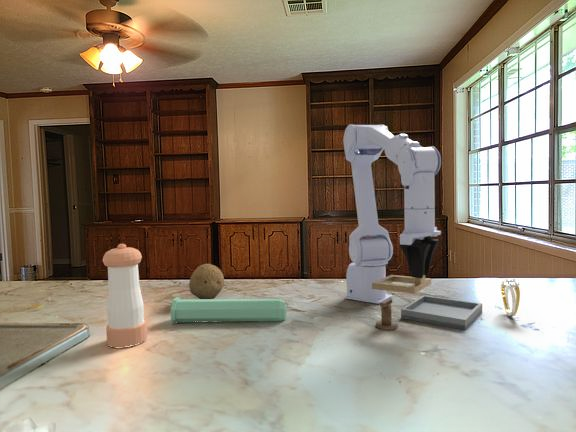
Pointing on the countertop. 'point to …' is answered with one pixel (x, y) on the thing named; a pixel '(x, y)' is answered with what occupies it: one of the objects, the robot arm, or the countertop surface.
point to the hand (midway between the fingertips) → (420, 276)
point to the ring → (515, 301)
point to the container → (227, 310)
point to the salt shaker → (124, 298)
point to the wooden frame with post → (416, 287)
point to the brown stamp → (386, 316)
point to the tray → (442, 311)
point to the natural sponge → (206, 281)
